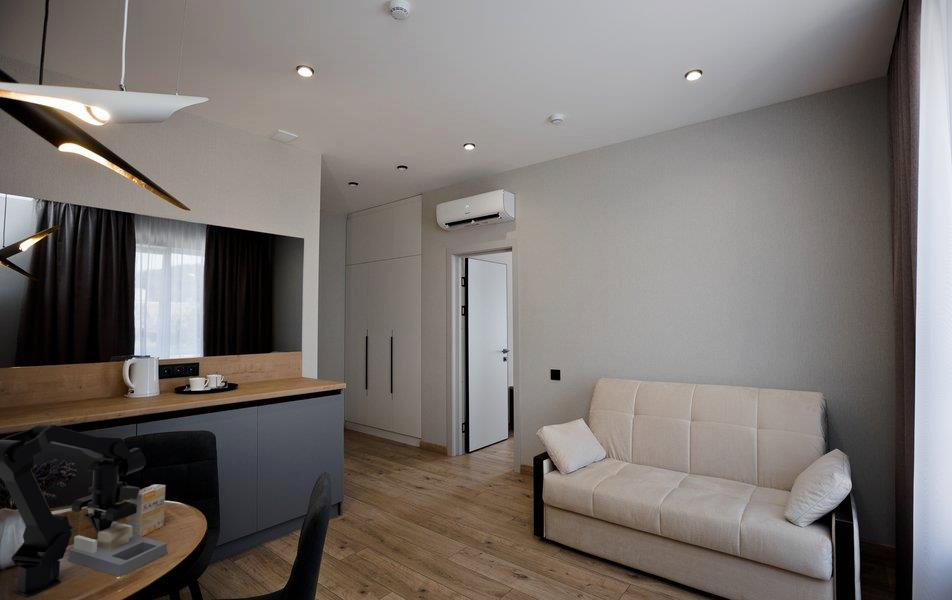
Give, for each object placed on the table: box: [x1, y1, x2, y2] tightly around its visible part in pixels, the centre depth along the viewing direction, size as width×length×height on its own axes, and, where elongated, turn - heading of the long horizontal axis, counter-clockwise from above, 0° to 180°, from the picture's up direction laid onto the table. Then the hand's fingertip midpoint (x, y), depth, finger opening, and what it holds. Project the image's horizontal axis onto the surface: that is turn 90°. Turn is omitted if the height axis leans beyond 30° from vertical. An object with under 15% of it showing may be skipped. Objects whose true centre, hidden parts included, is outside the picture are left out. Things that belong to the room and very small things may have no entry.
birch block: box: [97, 524, 130, 550], centre depth 124 cm, size 5×5×4 cm
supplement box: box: [128, 484, 166, 537], centre depth 138 cm, size 8×5×13 cm, turn 168°
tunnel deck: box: [68, 521, 168, 578], centre depth 123 cm, size 12×21×6 cm, turn 70°
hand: (102, 537), depth 125 cm, fingers closed
